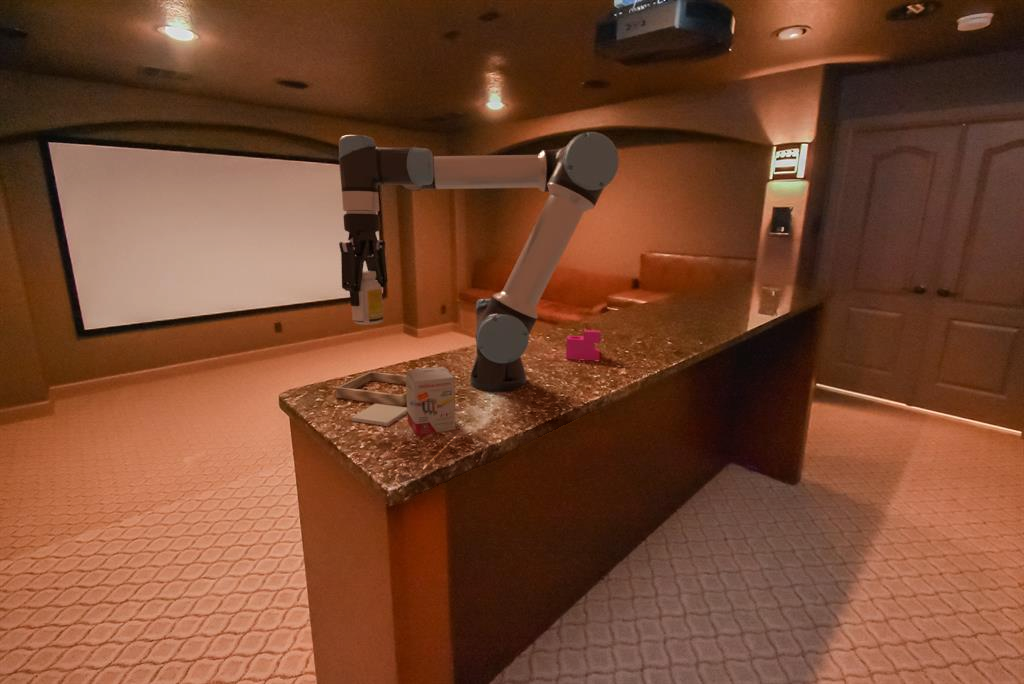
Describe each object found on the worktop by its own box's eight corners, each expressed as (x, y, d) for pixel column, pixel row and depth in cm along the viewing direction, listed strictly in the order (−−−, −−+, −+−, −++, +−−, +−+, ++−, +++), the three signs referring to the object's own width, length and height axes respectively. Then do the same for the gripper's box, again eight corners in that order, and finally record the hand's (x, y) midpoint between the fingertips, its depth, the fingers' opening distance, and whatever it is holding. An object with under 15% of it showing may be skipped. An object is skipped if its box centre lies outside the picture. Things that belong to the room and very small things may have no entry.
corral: (431, 387, 125) (430, 378, 125) (402, 406, 112) (401, 396, 111) (370, 380, 131) (369, 371, 130) (335, 397, 117) (335, 387, 117)
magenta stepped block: (599, 364, 148) (600, 332, 146) (566, 362, 150) (567, 331, 147) (598, 354, 160) (600, 324, 157) (567, 353, 161) (568, 323, 159)
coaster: (409, 411, 109) (409, 407, 109) (387, 426, 100) (387, 422, 100) (375, 406, 112) (375, 403, 111) (351, 420, 103) (351, 417, 103)
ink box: (415, 436, 96) (413, 380, 93) (407, 421, 103) (404, 368, 101) (456, 429, 99) (455, 375, 96) (445, 415, 107) (444, 364, 104)
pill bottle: (388, 320, 111) (385, 270, 109) (375, 326, 105) (371, 273, 102) (362, 319, 113) (359, 270, 110) (348, 324, 106) (344, 272, 104)
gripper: (372, 214, 113) (378, 310, 119) (316, 211, 95) (326, 324, 101) (400, 214, 111) (404, 311, 116) (347, 211, 93) (356, 326, 98)
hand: (368, 317), depth 109 cm, fingers closed on pill bottle, 6 cm apart
